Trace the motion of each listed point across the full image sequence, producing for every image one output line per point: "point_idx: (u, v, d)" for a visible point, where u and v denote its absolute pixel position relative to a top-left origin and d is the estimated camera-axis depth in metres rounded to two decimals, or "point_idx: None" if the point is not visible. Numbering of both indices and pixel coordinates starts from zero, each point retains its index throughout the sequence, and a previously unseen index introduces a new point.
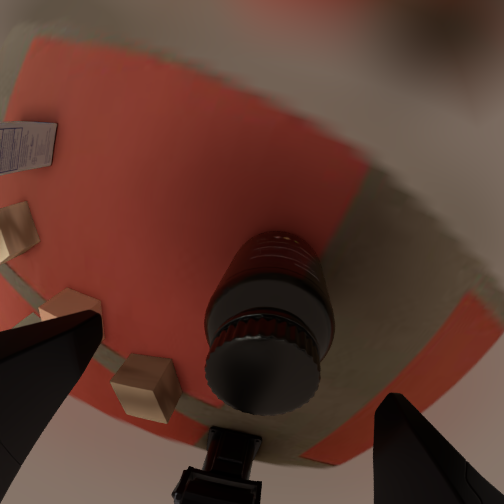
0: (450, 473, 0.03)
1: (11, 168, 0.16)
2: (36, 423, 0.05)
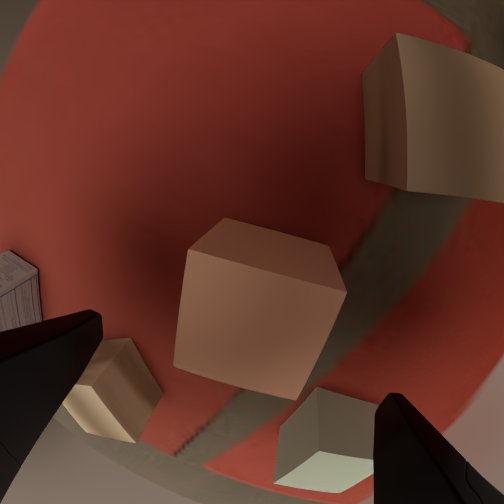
0: (450, 474, 0.03)
1: None
2: (36, 423, 0.05)
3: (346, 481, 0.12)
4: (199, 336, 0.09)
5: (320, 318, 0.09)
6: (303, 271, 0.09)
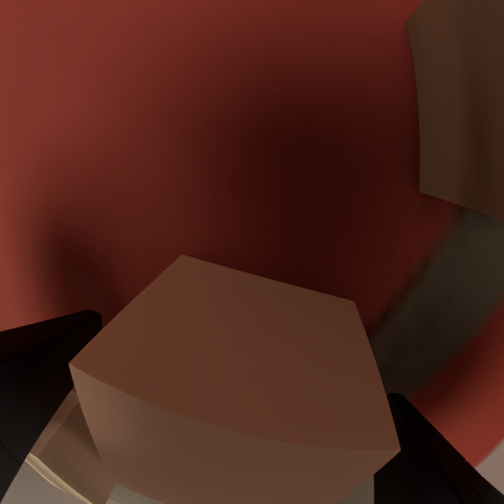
0: (449, 473, 0.03)
1: None
2: (36, 423, 0.05)
3: None
4: (133, 470, 0.04)
5: (340, 480, 0.03)
6: (316, 406, 0.04)
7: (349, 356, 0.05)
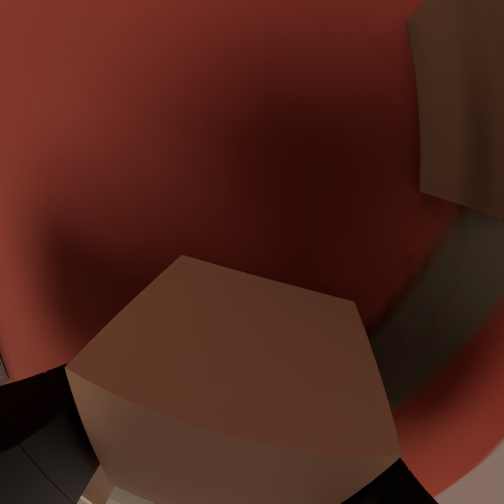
0: (384, 482, 0.03)
1: None
2: (92, 459, 0.05)
3: None
4: (131, 473, 0.04)
5: (340, 485, 0.03)
6: (316, 411, 0.04)
7: (350, 359, 0.05)
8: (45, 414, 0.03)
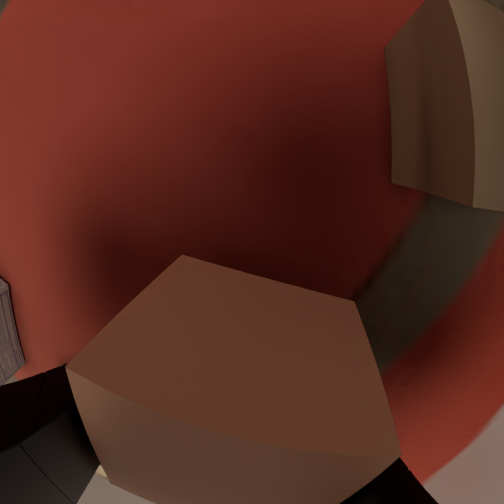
0: (384, 482, 0.03)
1: None
2: (91, 459, 0.05)
3: None
4: (131, 473, 0.04)
5: (340, 484, 0.03)
6: (316, 411, 0.04)
7: (350, 359, 0.05)
8: (44, 414, 0.03)
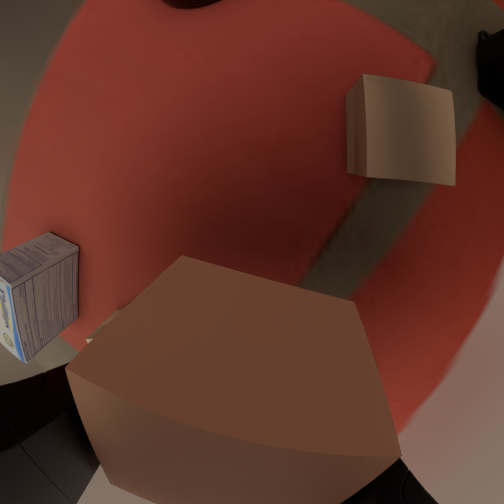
0: (384, 482, 0.03)
1: (33, 267, 0.16)
2: (91, 459, 0.05)
3: None
4: (131, 473, 0.04)
5: (340, 485, 0.03)
6: (316, 412, 0.04)
7: (349, 359, 0.05)
8: (45, 414, 0.03)
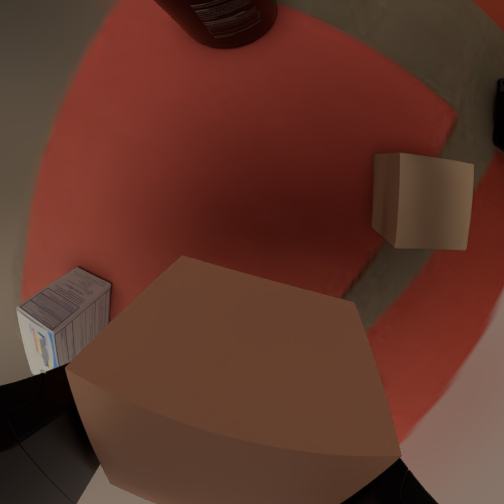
0: (384, 482, 0.03)
1: (72, 310, 0.17)
2: (91, 459, 0.05)
3: None
4: (131, 474, 0.04)
5: (340, 485, 0.03)
6: (316, 412, 0.04)
7: (349, 360, 0.05)
8: (44, 414, 0.03)
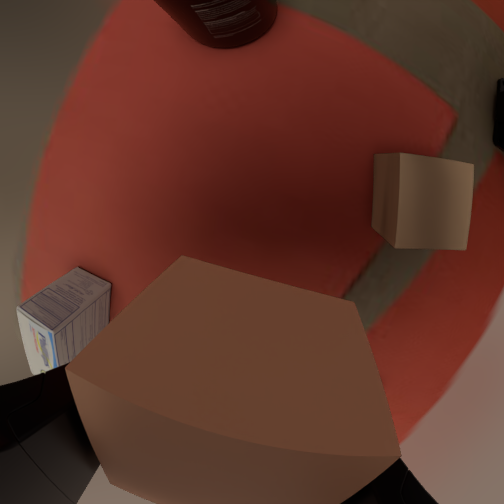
0: (384, 482, 0.03)
1: (72, 310, 0.17)
2: (91, 459, 0.05)
3: None
4: (131, 474, 0.04)
5: (340, 485, 0.03)
6: (316, 412, 0.04)
7: (349, 360, 0.05)
8: (44, 414, 0.03)
